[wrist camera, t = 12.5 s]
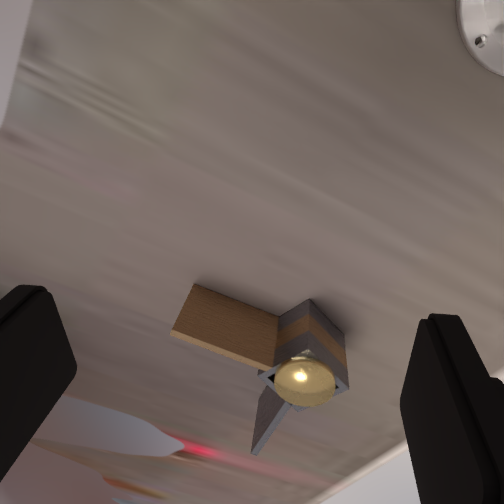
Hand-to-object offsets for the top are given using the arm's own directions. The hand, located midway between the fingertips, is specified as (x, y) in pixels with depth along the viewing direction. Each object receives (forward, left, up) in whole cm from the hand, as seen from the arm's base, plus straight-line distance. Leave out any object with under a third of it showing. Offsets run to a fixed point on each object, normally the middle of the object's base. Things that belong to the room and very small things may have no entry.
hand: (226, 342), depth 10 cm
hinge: (+19, +17, -28) cm, 38 cm away
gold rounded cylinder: (+13, +19, -28) cm, 36 cm away
